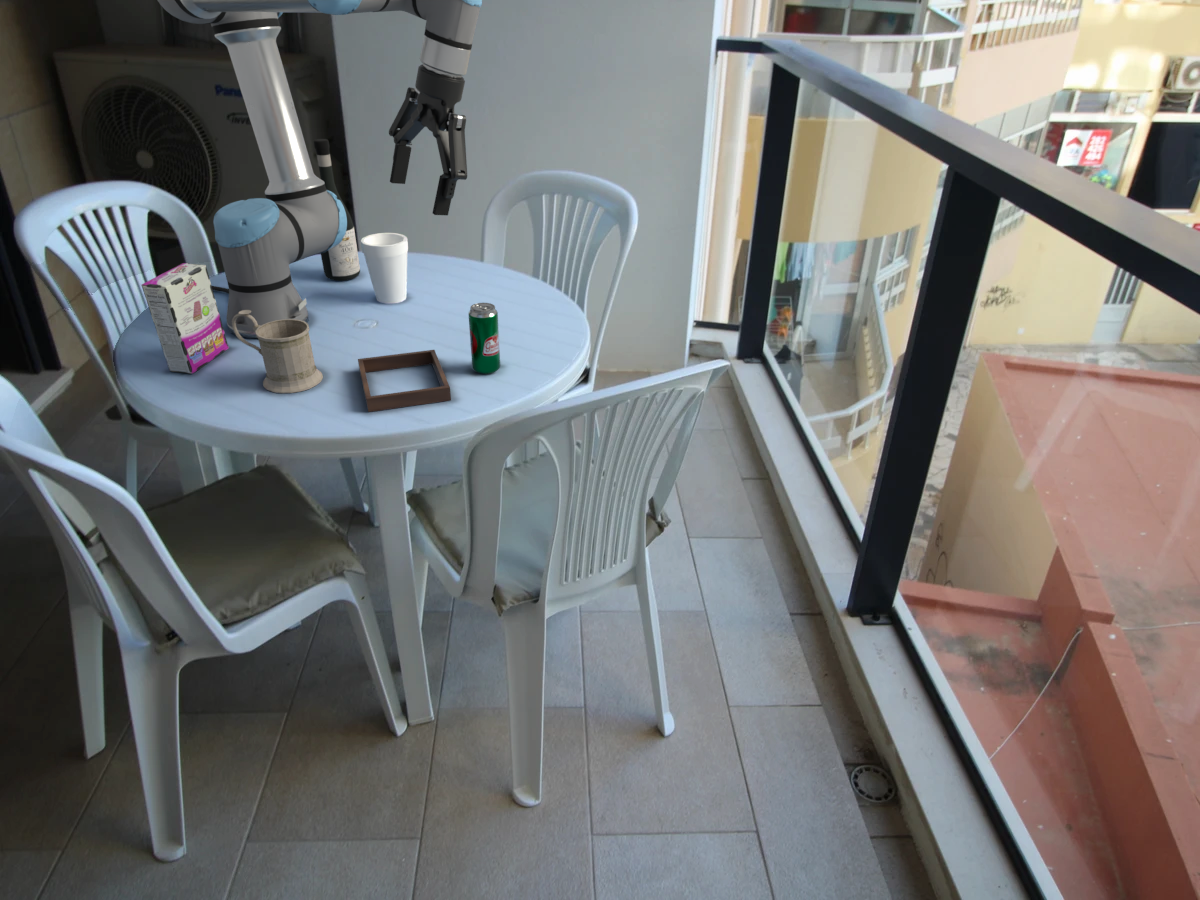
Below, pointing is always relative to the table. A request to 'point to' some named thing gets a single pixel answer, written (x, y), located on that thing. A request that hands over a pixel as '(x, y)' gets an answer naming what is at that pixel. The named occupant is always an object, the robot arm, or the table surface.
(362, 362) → the square wooden frame
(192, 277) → the candy bar box
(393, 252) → the foam cup
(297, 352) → the mug
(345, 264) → the wine bottle
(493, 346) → the soda can
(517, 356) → the table surface
